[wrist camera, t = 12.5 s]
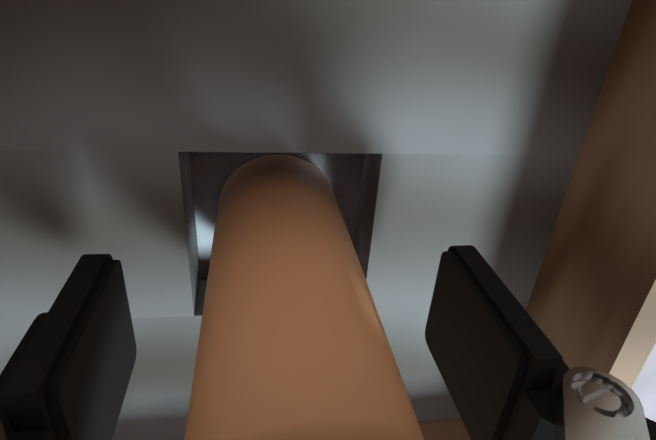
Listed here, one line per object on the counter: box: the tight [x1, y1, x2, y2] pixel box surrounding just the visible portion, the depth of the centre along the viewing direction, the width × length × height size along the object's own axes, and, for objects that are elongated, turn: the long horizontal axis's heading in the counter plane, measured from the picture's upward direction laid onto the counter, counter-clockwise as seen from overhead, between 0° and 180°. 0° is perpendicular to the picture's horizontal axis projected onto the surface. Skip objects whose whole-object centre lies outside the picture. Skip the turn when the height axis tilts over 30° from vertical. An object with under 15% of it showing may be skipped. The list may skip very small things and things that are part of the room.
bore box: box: [0, 0, 656, 440], centre depth 13 cm, size 20×20×6 cm
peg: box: [184, 154, 424, 440], centre depth 11 cm, size 4×4×10 cm
